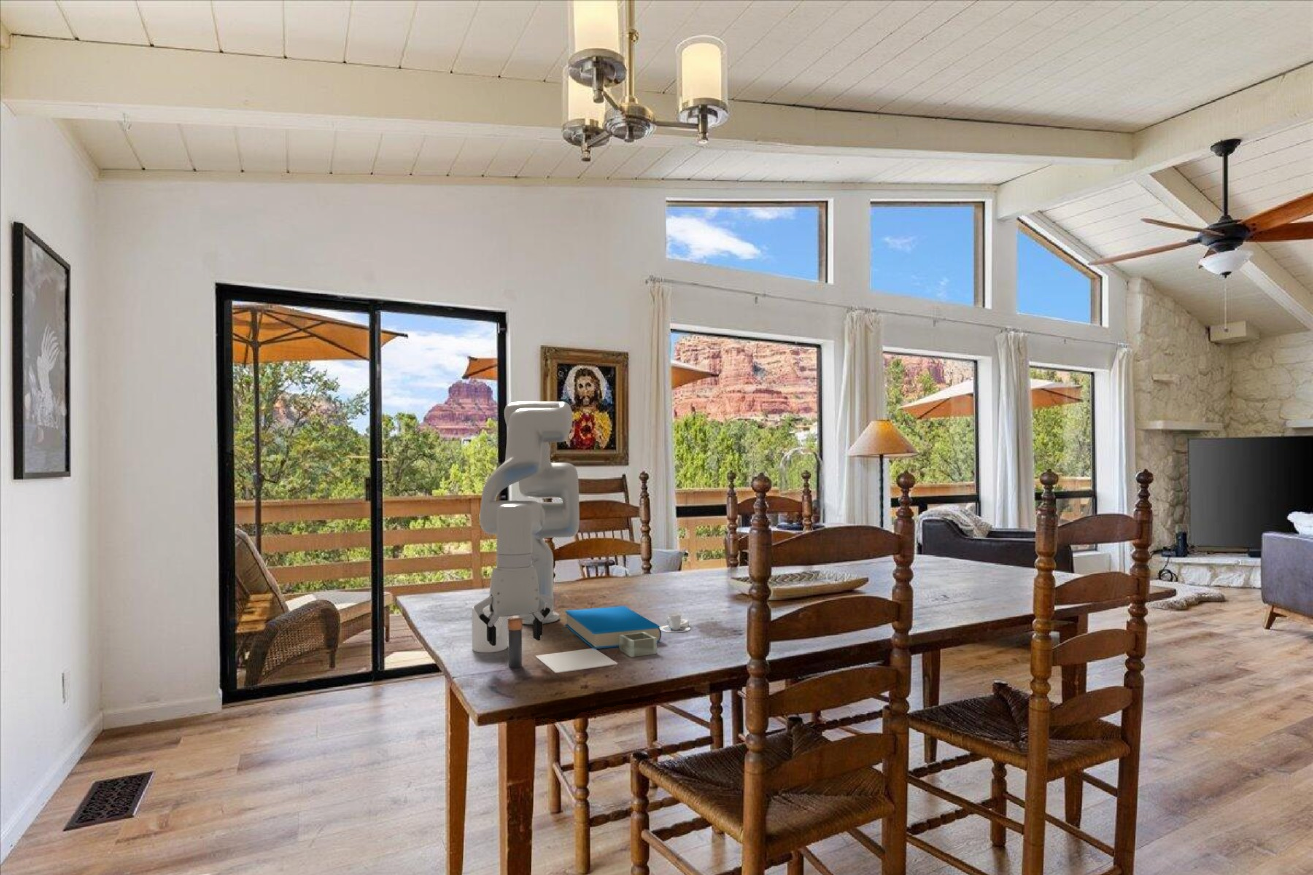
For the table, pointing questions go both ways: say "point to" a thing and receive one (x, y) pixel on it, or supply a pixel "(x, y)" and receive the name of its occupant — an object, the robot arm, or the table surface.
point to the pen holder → (638, 644)
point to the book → (608, 625)
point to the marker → (515, 642)
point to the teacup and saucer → (676, 623)
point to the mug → (481, 633)
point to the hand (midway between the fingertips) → (514, 641)
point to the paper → (575, 660)
